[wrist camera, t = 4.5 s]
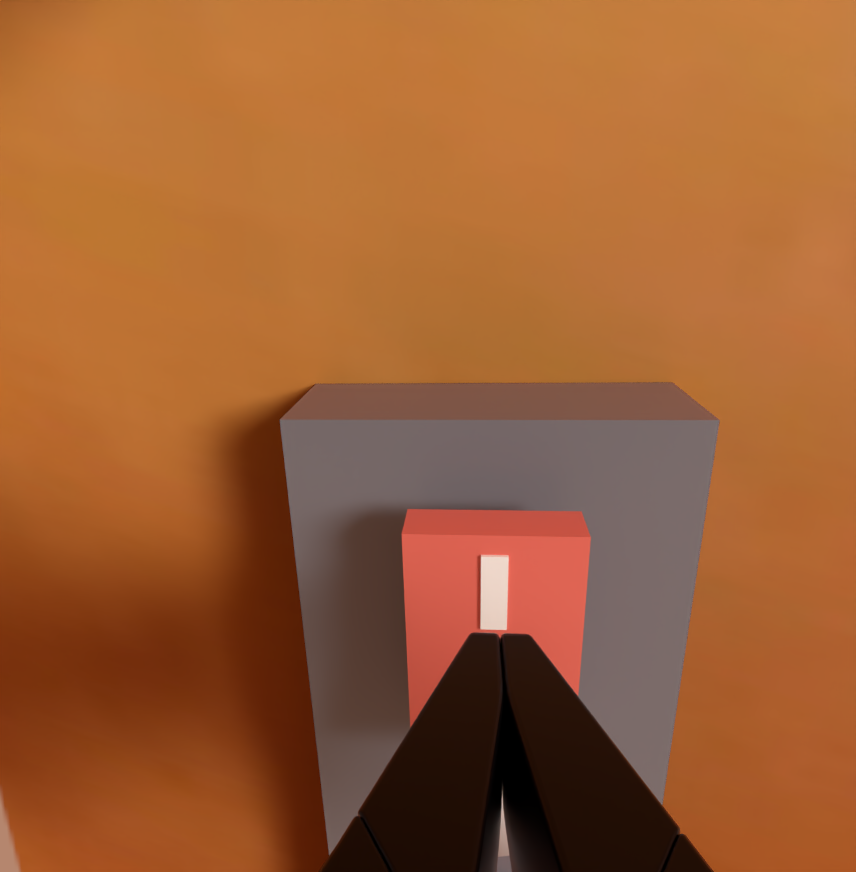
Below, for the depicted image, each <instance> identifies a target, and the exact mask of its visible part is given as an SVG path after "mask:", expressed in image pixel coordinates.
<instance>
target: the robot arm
mask: <svg viewBox="0 0 856 872" xmlns="http://www.w3.org/2000/svg"><path fill="white" fill-rule="evenodd" d="M502 796H503V811H504V819H505V828H506V835H507V842H508V849H509V855H510V862H511V869H512V872H714V871H713V870H712V869H711V868H710V866H709V865H708V864H707V863H706V861H705V860H704V859H703V857H702V856H701V855H700V854H699V852H698V851H697V850H696V848H695V847H694V846H693V844H692V843H691V842H690V840H689V839H688V838H687V836H686V835H684V834H680V828H679V827H678V825H677V824H676V823H675V821H674V820H673V819H672V817H671V816H670V815H669V814H668V812H667V811H666V810H665V808H664V807H663V806H662V805H661V803H660V802H659V801H658V799H657V798H656V797H655V795H654V794H653V793H652V792H651V790H650V789H649V788H648V786H647V785H646V784H645V782H644V781H643V780H642V779H641V777H640V776H639V775H638V773H637V772H636V771H635V770H634V768H633V767H632V766H631V764H630V763H629V762H628V760H627V759H626V758H625V757H624V755H623V754H622V753H621V751H620V750H619V749H618V747H617V746H616V745H615V744H614V742H613V741H612V740H611V738H610V737H609V736H608V735H607V733H606V732H605V731H604V729H603V728H602V727H601V725H600V724H599V723H598V722H597V720H596V719H595V718H594V716H593V715H592V714H591V712H590V711H589V710H588V709H587V707H586V706H585V705H584V703H583V702H582V701H581V700H580V698H579V697H578V696H577V694H576V693H575V692H574V690H573V689H572V688H571V687H570V685H569V684H568V683H567V681H566V680H565V679H564V677H563V676H562V675H561V674H560V672H559V671H558V670H557V668H556V667H555V666H554V665H553V663H552V662H551V661H550V659H549V658H548V657H547V655H546V654H545V653H544V652H543V650H542V649H541V648H540V646H539V645H538V644H537V642H536V641H535V640H534V639H533V637H532V636H531V635H529V634H519V633H504V634H502V635H501V637H499V635H498V634H497V633H485V632H473V633H470V634H469V636H468V637H467V638H466V640H465V642H464V643H463V645H462V646H461V648H460V650H459V651H458V653H457V654H456V656H455V658H454V659H453V661H452V662H451V664H450V666H449V667H448V669H447V670H446V672H445V674H444V675H443V677H442V678H441V680H440V681H439V683H438V685H437V686H436V688H435V689H434V691H433V693H432V694H431V696H430V697H429V699H428V701H427V702H426V704H425V705H424V707H423V709H422V710H421V712H420V713H419V715H418V717H417V718H416V720H415V721H414V723H413V724H412V726H411V728H410V729H409V731H408V732H407V734H406V736H405V737H404V739H403V740H402V742H401V744H400V745H399V747H398V748H397V750H396V752H395V753H394V755H393V756H392V758H391V760H390V761H389V763H388V764H387V766H386V768H385V769H384V771H383V772H382V774H381V775H380V777H379V779H378V780H377V782H376V783H375V785H374V787H373V788H372V790H371V791H370V793H369V795H368V796H367V798H366V799H365V801H364V803H363V804H362V806H361V807H360V809H359V811H358V816H355V817H354V818H353V820H352V821H351V823H350V824H349V826H348V828H347V829H346V831H345V832H344V834H343V835H342V837H341V839H340V840H339V842H338V843H337V845H336V847H335V848H334V850H333V851H332V852H331V854H330V855H329V857H328V858H327V860H326V861H325V863H324V864H323V866H322V867H321V869H320V870H319V872H497V862H498V851H499V839H500V828H501V810H502Z"/></svg>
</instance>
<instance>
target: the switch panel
mask: <svg viewBox="0 0 856 872" xmlns="http://www.w3.org/2000/svg"><path fill="white" fill-rule="evenodd" d="M718 427H719V419H717V418H716V417H715V416H714V415H712V414H711V413H710V412H709V411H707V410H706V409H705V408H704V407H702V406H701V405H700V404H699V403H697V402H696V401H695V400H694V399H692V398H691V397H690V396H689V395H687V394H686V393H685V392H684V391H682V390H681V389H680V388H679V387H677V386H676V385H675V384H674V383H427V384H315V385H314V386H313V387H312V388H311V389H310V390H309V391H308V392H307V393H306V394H305V395H304V396H303V397H302V398H301V399H300V400H299V401H298V402H297V403H296V404H295V405H294V406H293V407H292V408H291V409H290V410H289V411H288V412H287V413H286V414H285V415H284V416H283V417H282V418H281V419H280V428H281V437H282V445H283V454H284V463H285V472H286V481H287V489H288V498H289V507H290V516H291V525H292V533H293V542H294V551H295V560H296V569H297V577H298V586H299V595H300V604H301V613H302V622H303V630H304V639H305V648H306V657H307V666H308V674H309V683H310V692H311V701H312V710H313V718H314V727H315V736H316V745H317V754H318V762H319V771H320V780H321V789H322V798H323V806H324V815H325V824H326V833H327V842H328V850H329V855H330V854H331V852H332V851H333V850H334V848H335V847H336V845H337V843H338V842H339V840H340V839H341V837H342V835H343V834H344V832H345V831H346V829H347V828H348V826H349V824H350V823H351V821H352V820H353V818H354V817H355V816H358V811H359V809H360V807H361V806H362V804H363V803H364V801H365V799H366V798H367V796H368V795H369V793H370V791H371V790H372V788H373V787H374V785H375V783H376V782H377V780H378V779H379V777H380V775H381V774H382V772H383V771H384V769H385V768H386V766H387V764H388V763H389V761H390V760H391V758H392V756H393V755H394V753H395V752H396V750H397V748H398V747H399V745H400V744H401V742H402V740H403V739H404V737H405V736H406V734H407V732H408V731H409V729H410V710H409V688H408V666H407V644H406V622H405V599H404V577H403V555H402V530H403V526H404V522H405V518H406V513H407V509H442V510H517V511H582V514H583V517H584V520H585V522H586V525H587V528H588V531H589V534H590V536H591V542H590V555H589V567H588V580H587V592H586V605H585V617H584V630H583V643H582V655H581V668H580V680H579V693H578V697H579V698H580V700H581V701H582V702H583V703H584V705H585V706H586V707H587V709H588V710H589V711H590V712H591V714H592V715H593V716H594V718H595V719H596V720H597V722H598V723H599V724H600V725H601V727H602V728H603V729H604V731H605V732H606V733H607V735H608V736H609V737H610V738H611V740H612V741H613V742H614V744H615V745H616V746H617V747H618V749H619V750H620V751H621V753H622V754H623V755H624V757H625V758H626V759H627V760H628V762H629V763H630V764H631V766H632V767H633V768H634V770H635V771H636V772H637V773H638V775H639V776H640V777H641V779H642V780H643V781H644V782H645V784H646V785H647V786H648V788H649V789H650V790H651V792H652V793H653V794H654V795H655V797H656V798H657V799H658V801H659V802H660V803H661V805H662V803H663V796H664V790H665V783H666V776H667V769H668V763H669V756H670V749H671V742H672V736H673V729H674V722H675V716H676V709H677V702H678V695H679V689H680V682H681V675H682V669H683V662H684V655H685V648H686V642H687V635H688V628H689V622H690V615H691V608H692V601H693V595H694V588H695V581H696V575H697V568H698V561H699V554H700V548H701V541H702V534H703V528H704V521H705V514H706V507H707V501H708V494H709V487H710V480H711V474H712V467H713V460H714V454H715V447H716V440H717V433H718ZM497 872H512V869H511V862H510V855H509V849H508V842H507V835H506V828H505V819H504V811H503V796H502V810H501V828H500V839H499V851H498V862H497Z"/></svg>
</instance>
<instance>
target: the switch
mask: <svg viewBox="0 0 856 872" xmlns="http://www.w3.org/2000/svg"><path fill="white" fill-rule="evenodd" d="M590 542H591V536H590V534H589V531H588V528H587V525H586V522H585V520H584V517H583V514H582V511H517V510H442V509H407V513H406V518H405V522H404V526H403V530H402V555H403V577H404V599H405V622H406V644H407V666H408V688H409V710H410V728H411V726H412V724H413V723H414V721H415V720H416V718H417V717H418V715H419V713H420V712H421V710H422V709H423V707H424V705H425V704H426V702H427V701H428V699H429V697H430V696H431V694H432V693H433V691H434V689H435V688H436V686H437V685H438V683H439V681H440V680H441V678H442V677H443V675H444V674H445V672H446V670H447V669H448V667H449V666H450V664H451V662H452V661H453V659H454V658H455V656H456V654H457V653H458V651H459V650H460V648H461V646H462V645H463V643H464V642H465V640H466V638H467V637H468V636H469V634H470V633H473V632H485V633H497V634H498V635H499V637H501V635H502V634H504V633H519V634H529V635H531V636H532V637H533V639H534V640H535V641H536V642H537V644H538V645H539V646H540V648H541V649H542V650H543V652H544V653H545V654H546V655H547V657H548V658H549V659H550V661H551V662H552V663H553V665H554V666H555V667H556V668H557V670H558V671H559V672H560V674H561V675H562V676H563V677H564V679H565V680H566V681H567V683H568V684H569V685H570V687H571V688H572V689H573V690H574V692H575V693H576V694H577V696H578V693H579V680H580V668H581V655H582V643H583V630H584V617H585V605H586V592H587V580H588V567H589V555H590Z"/></svg>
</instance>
